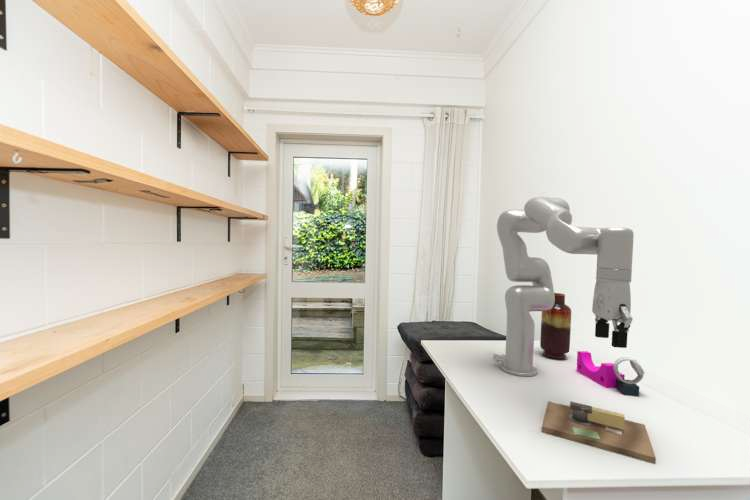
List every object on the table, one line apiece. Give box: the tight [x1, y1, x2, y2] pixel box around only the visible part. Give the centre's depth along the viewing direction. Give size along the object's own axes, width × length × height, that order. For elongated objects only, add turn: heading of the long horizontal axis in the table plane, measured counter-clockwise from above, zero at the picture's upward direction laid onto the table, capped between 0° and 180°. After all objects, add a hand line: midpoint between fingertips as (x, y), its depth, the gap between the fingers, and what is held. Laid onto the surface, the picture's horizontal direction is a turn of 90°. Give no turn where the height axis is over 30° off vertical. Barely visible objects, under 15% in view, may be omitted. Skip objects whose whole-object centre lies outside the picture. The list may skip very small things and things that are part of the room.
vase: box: [539, 292, 572, 360], centre depth 146 cm, size 11×11×26 cm
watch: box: [613, 356, 645, 398], centre depth 111 cm, size 6×8×11 cm
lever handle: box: [569, 400, 626, 430], centre depth 87 cm, size 12×4×4 cm, turn 59°
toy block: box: [576, 350, 626, 389], centre depth 122 cm, size 15×6×8 cm, turn 4°
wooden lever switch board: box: [541, 400, 657, 464], centre depth 86 cm, size 22×16×2 cm
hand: (609, 341), depth 90 cm, fingers open, 8 cm apart
